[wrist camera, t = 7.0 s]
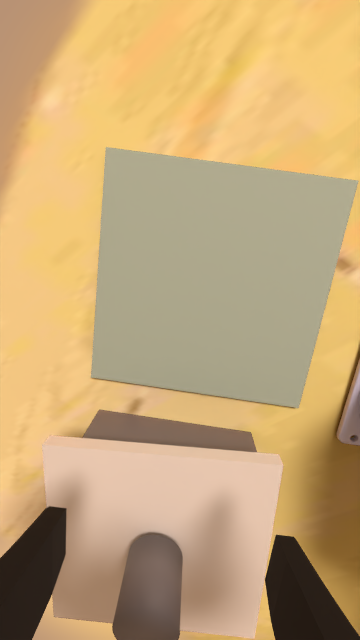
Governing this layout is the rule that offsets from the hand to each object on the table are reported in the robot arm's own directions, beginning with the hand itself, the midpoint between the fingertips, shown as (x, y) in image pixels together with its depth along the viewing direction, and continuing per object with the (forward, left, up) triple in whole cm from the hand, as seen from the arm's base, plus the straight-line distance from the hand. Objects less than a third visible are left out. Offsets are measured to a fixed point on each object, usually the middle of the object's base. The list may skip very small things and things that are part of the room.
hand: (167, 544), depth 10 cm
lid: (0, +7, -6) cm, 9 cm away
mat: (-1, -8, -10) cm, 13 cm away
